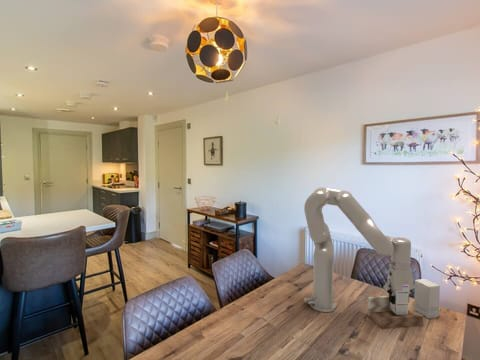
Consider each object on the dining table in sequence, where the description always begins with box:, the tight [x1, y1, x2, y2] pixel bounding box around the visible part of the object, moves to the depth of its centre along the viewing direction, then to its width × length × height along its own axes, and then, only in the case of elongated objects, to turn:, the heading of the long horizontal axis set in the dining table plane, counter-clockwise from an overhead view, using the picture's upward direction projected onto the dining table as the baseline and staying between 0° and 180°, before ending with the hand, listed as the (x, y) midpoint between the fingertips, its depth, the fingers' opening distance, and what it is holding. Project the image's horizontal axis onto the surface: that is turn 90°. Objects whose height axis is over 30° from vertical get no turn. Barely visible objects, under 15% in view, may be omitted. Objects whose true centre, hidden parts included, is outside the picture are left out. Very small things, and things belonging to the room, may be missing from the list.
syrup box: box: [390, 284, 410, 315], centre depth 122 cm, size 6×6×14 cm
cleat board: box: [367, 294, 424, 330], centre depth 123 cm, size 20×11×9 cm, turn 98°
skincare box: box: [413, 278, 441, 319], centre depth 128 cm, size 8×7×16 cm
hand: (398, 301), depth 123 cm, fingers closed on syrup box, 6 cm apart
